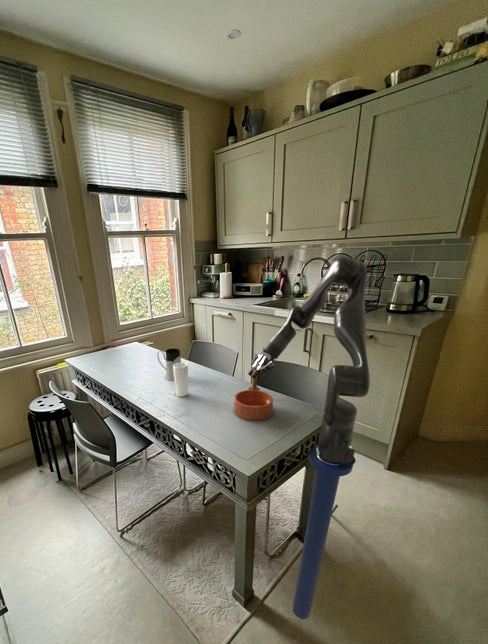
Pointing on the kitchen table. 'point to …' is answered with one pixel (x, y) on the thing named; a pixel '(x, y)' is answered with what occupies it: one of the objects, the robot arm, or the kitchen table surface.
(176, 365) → the drinking glass
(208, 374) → the kitchen table surface
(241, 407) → the bowl
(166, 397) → the kitchen table surface
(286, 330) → the robot arm
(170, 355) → the pitcher
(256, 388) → the wooden knob stand
